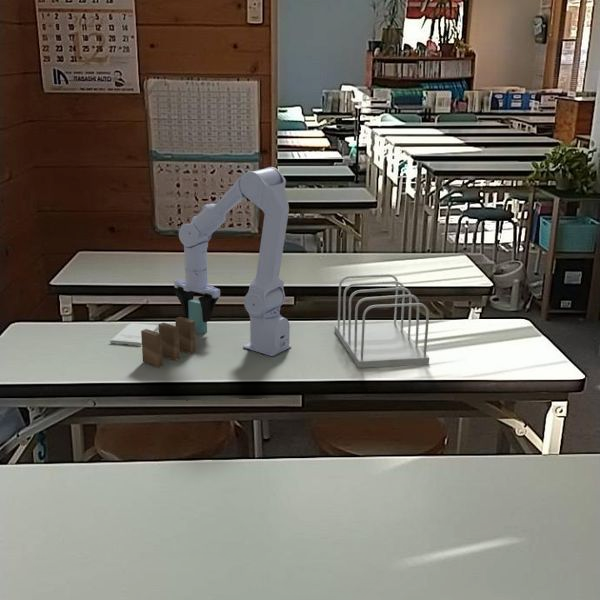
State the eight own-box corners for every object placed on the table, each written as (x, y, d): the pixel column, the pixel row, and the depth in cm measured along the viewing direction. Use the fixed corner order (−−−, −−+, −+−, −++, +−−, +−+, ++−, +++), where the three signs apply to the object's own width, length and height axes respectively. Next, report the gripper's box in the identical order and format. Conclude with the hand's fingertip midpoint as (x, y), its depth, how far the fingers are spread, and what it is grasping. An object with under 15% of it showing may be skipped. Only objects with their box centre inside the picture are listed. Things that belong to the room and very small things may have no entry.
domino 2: (165, 353, 179) (163, 322, 177) (179, 358, 176) (178, 327, 174) (160, 355, 178) (158, 324, 175) (174, 360, 175) (173, 329, 173)
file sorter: (429, 365, 175) (434, 303, 170) (358, 370, 172) (361, 306, 167) (396, 328, 198) (400, 272, 193) (333, 331, 195) (335, 275, 190)
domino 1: (148, 360, 175) (146, 328, 172) (162, 365, 172) (161, 333, 170) (142, 362, 174) (141, 330, 171) (157, 367, 171) (156, 335, 168)
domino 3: (181, 346, 183) (180, 316, 181) (195, 351, 181) (194, 320, 178) (176, 348, 182) (175, 318, 180) (191, 353, 179) (190, 322, 177)
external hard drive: (158, 331, 195) (141, 348, 183) (129, 328, 196) (110, 345, 185) (158, 325, 195) (140, 342, 183) (129, 322, 196) (109, 339, 184)
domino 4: (193, 327, 196) (192, 299, 193) (207, 331, 193) (206, 303, 191) (189, 329, 195) (188, 300, 192) (202, 333, 192) (202, 304, 189)
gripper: (164, 266, 190) (167, 316, 194) (206, 277, 181) (207, 328, 186) (184, 261, 195) (186, 309, 199) (225, 270, 187) (226, 321, 191)
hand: (197, 318), depth 193 cm, fingers open, 6 cm apart
